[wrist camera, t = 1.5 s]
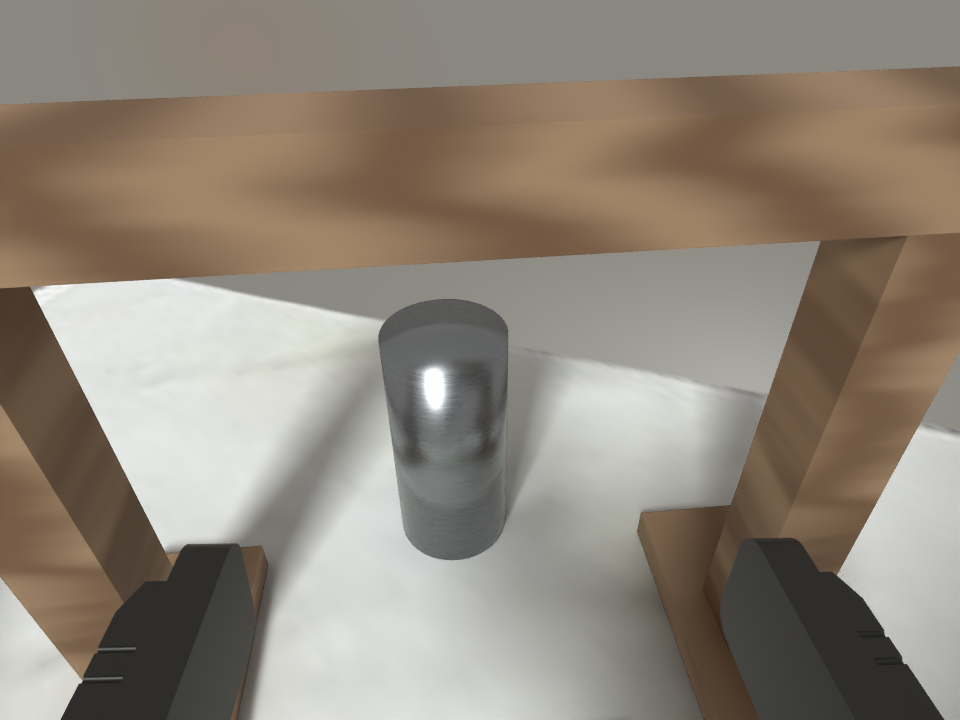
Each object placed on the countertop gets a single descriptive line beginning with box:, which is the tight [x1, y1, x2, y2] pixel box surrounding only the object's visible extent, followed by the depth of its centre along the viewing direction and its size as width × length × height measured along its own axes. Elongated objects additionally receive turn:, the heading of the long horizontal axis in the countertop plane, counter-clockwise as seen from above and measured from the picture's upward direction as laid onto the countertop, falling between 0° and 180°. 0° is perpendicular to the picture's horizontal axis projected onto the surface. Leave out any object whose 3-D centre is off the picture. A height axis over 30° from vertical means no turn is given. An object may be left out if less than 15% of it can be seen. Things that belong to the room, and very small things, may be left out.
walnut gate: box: [0, 67, 960, 720], centre depth 21 cm, size 31×12×24 cm, turn 95°
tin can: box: [379, 299, 508, 560], centre depth 31 cm, size 6×6×12 cm
